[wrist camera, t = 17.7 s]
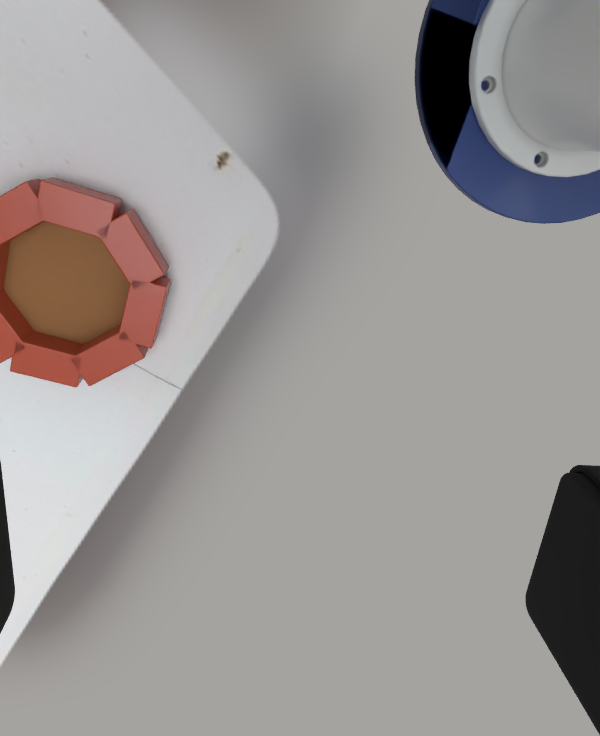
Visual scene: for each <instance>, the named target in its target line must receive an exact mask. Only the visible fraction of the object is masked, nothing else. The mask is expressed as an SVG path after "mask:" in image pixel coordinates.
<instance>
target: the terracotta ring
mask: <svg viewBox="0 0 600 736" xmlns="http://www.w3.org/2000/svg"><path fill="white" fill-rule="evenodd" d="M121 204H122V199H119V198H116V197H113V196H110V195H107V194H103V193H100V192H97V191H94V190H91V189H87V188H84V187H81V186H78V185H75V184H71V183H68V182H65V181H62V180H59V179H55V178H49V179H45V180H41V181H40V180H39V179H36V180H31V181H27V182H24V183H22V184H21V185H19V186H17V187H15V188H14V189H12V190H10V191H8V192H7V193H5V194H3V195H1V196H0V363H1V362H3V361H5V360H7V359H9V358H11V357H12V361H11V367H10V371H12V372H16V373H20V374H24V375H28V376H32V377H36V378H40V379H44V380H48V381H52V382H57V383H61V384H65V385H69V386H73V387H77V386H78V385H79V383H80V382H81V380H82V379H83V378H84V380H85V381H86V383H87V384H88V385H89V386H91V385H93V384H95V383H97V382H99V381H101V380H102V379H104V378H106V377H108V376H110V375H112V374H114V373H116V372H118V371H120V370H122V369H124V368H126V367H127V366H129V365H131V364H133V363H135V362H137V361H139V360H141V359H143V358H144V357H145V355H146V353H147V351H148V348H152V347H153V345H154V343H155V340H156V338H157V335H158V331H159V327H160V323H161V319H162V315H163V311H164V307H165V303H166V299H167V295H168V291H169V287H170V283H171V279H168V278H165V277H162V276H164V275H165V273H166V271H167V270H168V268H169V266H168V265H167V263H166V261H165V260H164V258H163V256H162V255H161V253H160V251H159V250H158V248H157V246H156V245H155V243H154V242H153V240H152V238H151V237H150V235H149V233H148V232H147V230H146V228H145V227H144V225H143V223H142V222H141V220H140V219H139V217H138V215H137V214H136V212H135V210H134V209H130V210H128V211H127V212H125V213H123V214H121V215H119V214H120V209H121ZM45 221H46V222H49V223H52V224H56V225H59V226H62V227H66V228H69V229H73V230H76V231H79V232H83V233H86V234H89V235H93V236H96V237H99V238H100V239H101V240H102V242H103V244H104V245H105V247H106V248H107V250H108V251H109V253H110V254H111V256H112V258H113V259H114V261H115V262H116V264H117V265H118V267H119V268H120V270H121V271H122V273H123V275H124V276H125V278H126V279H127V281H128V282H129V284H130V286H129V290H128V294H127V299H126V303H125V308H124V312H123V316H122V321H121V325H119V326H117V327H116V328H114V329H112V330H110V331H108V332H106V333H104V334H102V335H100V336H99V337H97V338H95V339H93V340H91V341H89V342H87V343H85V344H81V343H77V342H73V341H69V340H66V339H62V338H58V337H54V336H50V335H46V334H43V333H39V332H35V331H34V330H33V329H32V327H31V326H30V325H29V323H28V322H27V321H26V319H25V318H24V317H23V315H22V314H21V313H20V311H19V310H18V309H17V307H16V306H15V304H14V303H13V302H12V300H11V299H10V298H9V296H8V295H7V294H6V292H5V291H4V290H3V286H4V279H5V272H6V266H7V259H8V252H9V246H10V241H11V240H12V239H14V238H16V237H18V236H20V235H21V234H23V233H25V232H27V231H28V230H30V229H32V228H34V227H36V226H37V225H39V224H41V223H43V222H45Z"/></svg>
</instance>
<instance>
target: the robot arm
mask: <svg viewBox="0 0 600 736" xmlns="http://www.w3.org/2000/svg"><path fill="white" fill-rule="evenodd" d="M482 81H485V82H486V84H487V86H486V89H485V90H482V88H481V84H482ZM469 87H470V94H471V101H472V106H473V109H474V112H475V115H476V118H477V121H478V124H479V126H480V128H481V129H482V131H483V133H484V135H485V136H486V138H487V140H488V141H489V143H490V144H491V145H492V146H493V147H494V148H495V149H496V151H497V152H498V153H499V154H500V155H501V156H502V157H504V158H505V159H506V160H508V161H509V162H511V163H512V164H514V165H515V166H516V167H519V168H521V169H524V170H526V171H529V172H531V173H534V174H540V175H545V176H554V177H572V176H579V175H585V174H589V173H591V172H594V171H597V170H600V0H489V2H488V4H487V6H486V8H485V9H484V11H483V13H482V16H481V18H480V21H479V24H478V27H477V30H476V32H475V35H474V39H473V44H472V50H471V55H470V60H469ZM536 155H537V156H538V160H537V162H536V163H535V162H534V159H535V156H536ZM14 595H15V586H14V577H13V568H12V559H11V550H10V541H9V532H8V523H7V515H6V506H5V497H4V488H3V479H2V470H1V462H0V633H1V631H2V629H3V627H4V625H5V623H6V621H7V619H8V617H9V615H10V612H11V610H12V606H13V602H14ZM526 607H527V610H528V613H529V615H530V617H531V619H532V621H533V623H534V624H535V626H536V628H537V629H538V631H539V633H540V634H541V636H542V638H543V639H544V641H545V643H546V645H547V646H548V648H549V650H550V651H551V653H552V655H553V656H554V658H555V660H556V661H557V663H558V665H559V667H560V668H561V670H562V672H563V673H564V675H565V677H566V678H567V680H568V682H569V684H570V685H571V687H572V689H573V690H574V692H575V694H576V695H577V697H578V699H579V700H580V702H581V704H582V706H583V707H584V709H585V711H586V712H587V714H588V716H589V717H590V719H591V721H592V723H593V724H594V726H595V728H596V729H597V731H598V732H599V734H600V466H589V465H587V466H586V465H577V466H575V467H573V468H572V469H571V470H570V472H569V473H566V474H564V475H563V477H562V478H561V480H560V483H559V486H558V489H557V493H556V496H555V499H554V503H553V506H552V509H551V513H550V516H549V519H548V522H547V526H546V529H545V533H544V536H543V539H542V542H541V545H540V549H539V552H538V555H537V559H536V562H535V565H534V569H533V572H532V576H531V579H530V582H529V586H528V589H527V592H526Z"/></svg>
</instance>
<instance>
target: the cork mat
mask: <svg viewBox="0 0 600 736" xmlns="http://www.w3.org/2000/svg"><path fill="white" fill-rule="evenodd" d="M129 286H130V284H129V282H128V281H127V279H126V278H125V276H124V275H123V273H122V271H121V270H120V268H119V267H118V265H117V264H116V262H115V261H114V259H113V258H112V256H111V254H110V253H109V251H108V250H107V248H106V247H105V245H104V244H103V242H102V240H101V239H100V238H99V237H96V236H93V235H89V234H86V233H83V232H79V231H76V230H73V229H69V228H66V227H62V226H59V225H56V224H52V223H49V222H46V221H45V222H43V223H41V224H39V225H37V226H36V227H34V228H32V229H30V230H28V231H27V232H25V233H23V234H21V235H20V236H18V237H16V238H14V239H12V240H11V241H10V246H9V252H8V259H7V266H6V272H5V280H4V288H3V290H4V291H5V292H6V294H7V295H8V296H9V298H10V299H11V300H12V302H13V303H14V304H15V306H16V307H17V309H18V310H19V311H20V313H21V314H22V315H23V317H24V318H25V319H26V321H27V322H28V323H29V325H30V326H31V327H32V329H33V330H34V331H35V332H39V333H43V334H46V335H50V336H54V337H58V338H62V339H66V340H69V341H73V342H78V343H82V344H85V343H87V342H89V341H91V340H93V339H95V338H97V337H99V336H100V335H102V334H104V333H106V332H108V331H110V330H112V329H114V328H116V327H117V326H119V325H121V321H122V316H123V312H124V308H125V303H126V299H127V294H128V290H129Z"/></svg>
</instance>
